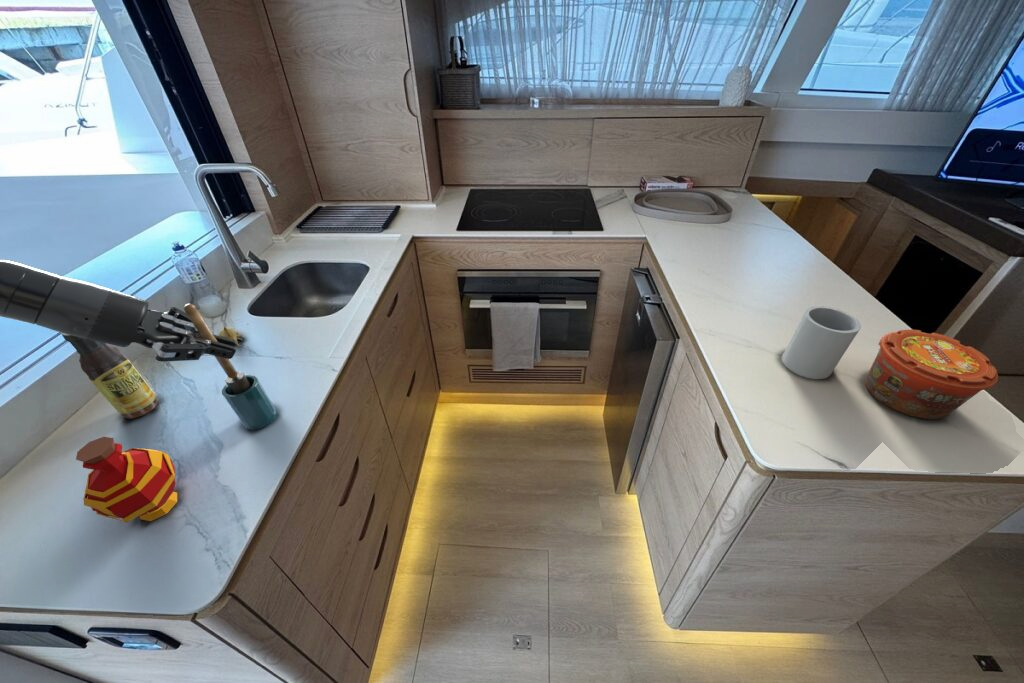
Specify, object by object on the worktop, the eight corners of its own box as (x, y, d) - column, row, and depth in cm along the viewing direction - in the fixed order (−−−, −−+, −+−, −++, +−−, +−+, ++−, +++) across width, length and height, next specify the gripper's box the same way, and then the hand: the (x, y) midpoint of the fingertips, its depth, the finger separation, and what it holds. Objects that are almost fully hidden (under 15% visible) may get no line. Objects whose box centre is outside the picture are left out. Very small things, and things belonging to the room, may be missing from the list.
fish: (237, 330, 102) (227, 314, 99) (255, 347, 94) (245, 330, 91) (216, 339, 99) (205, 322, 96) (233, 357, 91) (222, 340, 88)
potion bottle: (208, 495, 64) (153, 437, 55) (135, 550, 58) (59, 496, 48) (178, 466, 69) (123, 408, 60) (107, 514, 62) (32, 458, 53)
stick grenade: (258, 402, 74) (198, 306, 60) (240, 408, 72) (175, 312, 59) (257, 392, 76) (199, 297, 62) (240, 398, 75) (176, 303, 61)
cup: (777, 348, 89) (799, 303, 82) (823, 354, 87) (850, 309, 80) (787, 375, 82) (813, 329, 75) (837, 382, 80) (868, 335, 73)
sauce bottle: (138, 423, 77) (63, 344, 65) (115, 416, 79) (38, 338, 66) (169, 399, 82) (105, 322, 70) (147, 394, 84) (81, 317, 71)
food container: (835, 371, 83) (862, 330, 76) (907, 364, 84) (939, 324, 77) (901, 431, 70) (939, 388, 64) (984, 423, 71) (1031, 380, 64)
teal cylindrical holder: (278, 422, 76) (258, 389, 71) (244, 434, 74) (221, 401, 69) (275, 403, 80) (256, 370, 75) (243, 414, 78) (221, 382, 73)
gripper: (95, 315, 50) (245, 355, 62) (116, 271, 60) (243, 313, 72) (71, 360, 52) (223, 391, 64) (96, 311, 61) (224, 346, 73)
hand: (233, 350), depth 68 cm, fingers closed on stick grenade, 1 cm apart
